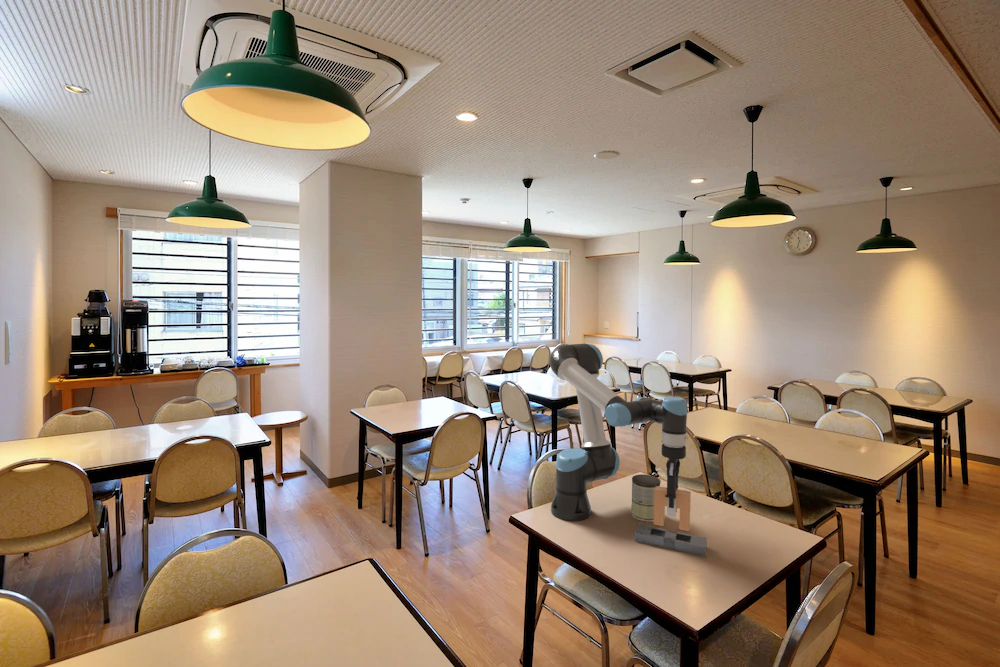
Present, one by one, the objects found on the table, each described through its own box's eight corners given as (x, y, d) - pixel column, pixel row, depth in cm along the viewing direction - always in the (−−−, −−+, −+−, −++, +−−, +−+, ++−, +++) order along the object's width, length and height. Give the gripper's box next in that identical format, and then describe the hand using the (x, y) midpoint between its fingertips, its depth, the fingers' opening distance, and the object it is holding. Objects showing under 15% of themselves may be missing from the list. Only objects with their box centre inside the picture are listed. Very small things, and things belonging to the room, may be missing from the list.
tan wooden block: (653, 524, 159) (654, 489, 159) (655, 520, 162) (656, 485, 162) (689, 531, 154) (690, 495, 154) (689, 527, 158) (690, 491, 157)
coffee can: (628, 509, 186) (629, 473, 185) (655, 510, 185) (657, 474, 184) (633, 521, 176) (634, 483, 175) (662, 522, 174) (663, 485, 174)
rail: (634, 541, 161) (634, 532, 161) (638, 532, 167) (638, 523, 167) (705, 556, 151) (705, 547, 151) (706, 546, 158) (706, 538, 157)
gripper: (683, 453, 148) (681, 526, 149) (688, 439, 163) (686, 506, 164) (658, 449, 151) (656, 521, 152) (664, 436, 166) (663, 502, 167)
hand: (671, 513), depth 158 cm, fingers closed on tan wooden block, 3 cm apart
